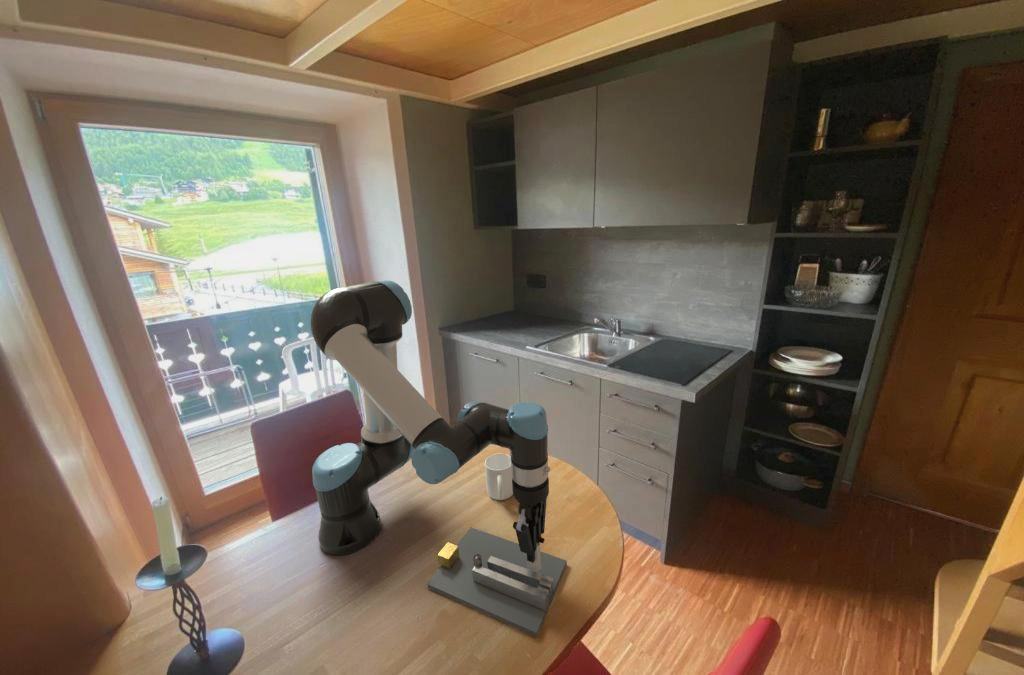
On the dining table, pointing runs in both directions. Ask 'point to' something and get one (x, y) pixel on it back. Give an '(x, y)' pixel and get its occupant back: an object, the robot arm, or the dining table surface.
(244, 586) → the dining table surface
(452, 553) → the tab
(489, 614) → the board
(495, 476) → the mug
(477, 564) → the tongs fixed
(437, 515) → the dining table surface
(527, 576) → the tongs jaw
